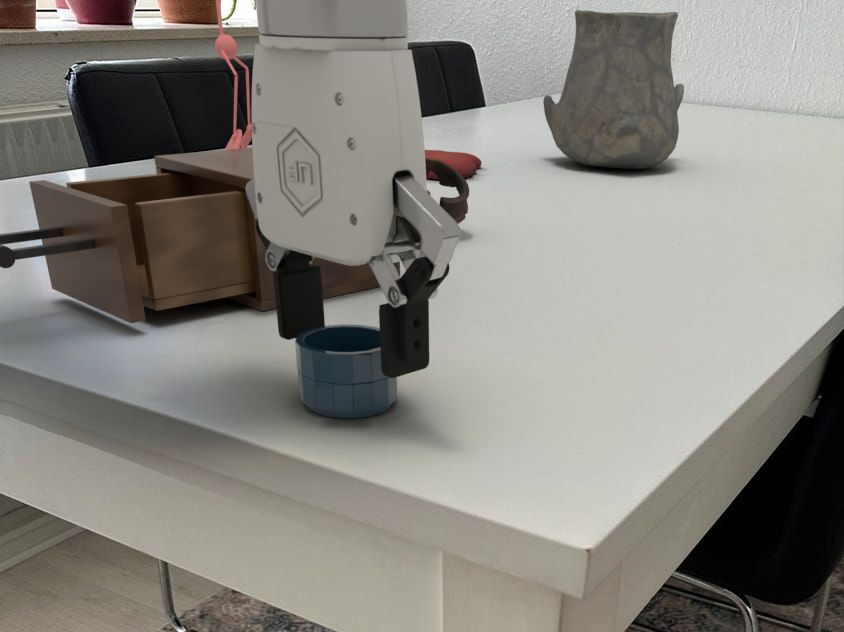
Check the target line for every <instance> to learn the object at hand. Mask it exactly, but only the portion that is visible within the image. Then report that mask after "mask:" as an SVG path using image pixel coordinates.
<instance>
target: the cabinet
mask: <svg viewBox="0 0 844 632" xmlns="http://www.w3.org/2000/svg"><path fill="white" fill-rule="evenodd" d="M153 158H154V165H155V173H156V174H159V173H169V172H180V173H184V174H188V175H192V176H196V177H200V178H204V179H208V180H213V181H217V182H221V183H225V184H229V185H233V186H237V187H241V188H245V189H246V184H247V183H248V182H249V181H250V180H251V179H252V178H254V165H253V146H252V147H247V148H241V149H229V150H225V149H220V150H209V151H207V150H206V151H197V152H194V151H193V152H185V153H184V152H183V153H173V154H161V155H154V156H153ZM246 200H247V210H248V220H249V230H250V241H251V251H252V261H253V271H254V281H255V291H256V292H251V293H245V294H240V295H235V296H230V297H225V298H224V299H228V300H231V301H234V302H236V303H238V304H242V305H244V306H247V307H250V308H253V309H256V310H259V311H261V312H267V311H272V310H276V300H275V290H274V280H273V272H277V270H275V271H272V270H270V269H269V267H268V266H267V263H266V259H265V255H266V251H267V249H266V248H265V246H264V244H263V242H262V241H261V239H260V237H259V235H258V233H257V231H256V221H257V219H255V217H254V214H253V211H252V208H251V205H250V203H249V200H248V197H247V194H246ZM315 264H316V265H319V266H320V268H321V277H322V291H323V300H324V299H328V298H332V297H337V296H342V295H347V294H351V293H357V292H361V291H366V290H370V289H375V288H381V287H380V285H379V283H378V281H377V279H376V277H375V275H374V273H373V271H372V269H371V267H370V264H369V262H367V263H366V264H363V265H358V266H350V265H344V264H340V263H336V262H333V261H329V260H325V259H321V258H318V257H314V259H313V261H312V263H311V264H310V265H315ZM393 264H394V266H395V268H396V270H397V272H398V274H399V276H400V277H401V262H396V263H393Z"/></svg>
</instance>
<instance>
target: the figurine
mask: <svg viewBox="0 0 844 632" xmlns="http://www.w3.org/2000/svg"><path fill="white" fill-rule="evenodd" d="M215 6H216V14H217V21H218V29H219V35H218V36H217V38H216V40H215V42H214V49H215V51H216V53H217V54H218V56H219V57H220V58H222V59H223V60H225V62H226V63H227V65H228V67H229V68H230V70H231V71H232V73H233V75H234V89H233V92H234V93H233V94H234V95H233V98H234V99H233V130H232V131H233V132H232V133H233V134H232V135H231V137H230V139H229V140H228V142H227V144H226V147H225V149H224V150H229V149H241V148H248V146H249V144H250V142H252V122H251V104H250V103H251V101H250V97H251V96H250V70H249V67H248V66H247V65H246V64H245V63H244V62H243V61H241V60H240V59H239V58H238V57H237V56H236V55H237V53H238V45H237V42H236V40H235V39H234V37H233V36H231V35H230V34H225V33H224V28H223V19H222V17H223V16H222V9H221V8H222V7H221V0H215ZM231 59H233V60H234V61H236V63H238V64H239V65H240V66H242V67H243V68H244V69H245V86H246V87H245V88H246V109H247V126H245V127H246V130H245V132H244V134H243V131H242V129H240V128H237V119H238V118H237V114H238V89H239V88H238V87H239V84H238V83H239V82H238V81H239V75H238V72H237V71H236V70H235V68H234V66H233V64H232V63H231V61H230V60H231Z"/></svg>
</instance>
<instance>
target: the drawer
mask: <svg viewBox="0 0 844 632" xmlns="http://www.w3.org/2000/svg"><path fill="white" fill-rule="evenodd" d="M28 183H29V187H30V188H29V189H30V192H31V193H30V194H31V197H32V202H33V206H34V210H35V216H36V219H37V225H38V229H29V230H21V231H14V232H7V233H5V232H4V233H0V268H2V269H10V268H12V267H13V266H14V265H15V263H16V261H18V260H25V259H31V258H38V257H39V258H40V257H45V262H46V266H47V271H48V276H49V281H50V286H51V289H52V290H54V291H56V292H58V293H61V294H63V295H66V296H67V297H70V298H72V299H74V300H76V301H79V302H81V303H84V304H86V305H89V306H91V307H93V308H95V309H96V310H97V309H98V310H99V311H102V312H104V313H106V314H109V315H111V316H113V317H116V318H118V319H121V320H123V321H124V322H127V323H129V324H136V323H140V322H145V321H147V319H146V312H145V307H147V308H149V309H152V310H154V311H157V312H159V311H163V310H168V309H173V308H178V307H179V308H180V307H184V306H189V305H192V304H199V303H205V302H209V301H214V300H219V299H226V298H225V297H230V296H235V295H240V294H245V293H251V292H256V291H255V281H254V271H253V261H252V251H251V241H250V230H249V220H248V210H247V200H246V189H245V188H241V187H237V186H233V185H229V184H225V183H221V182H217V181H213V180H208V179H204V178H200V177H196V176H192V175H188V174H184V173H180V172H169V173H159V174H157V173H149V174H141V175H140V174H138V175H131V176H130V175H129V176H120V177H109V178H100V179H99V178H98V179H90V180H88V179H87V180H79V181H69V182H66V183H65V184H66V186H65V185H62V184H58V183H54V182H51V181H48V180H45V179H41V180H32V181H28ZM38 240H41V244H40V245H32V246H26V247H25V246H24V247H18V248H10V247H8V246H6V245H9V244H16V243H17V244H18V243H23V242H25V243H26V242H32V241H38Z"/></svg>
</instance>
